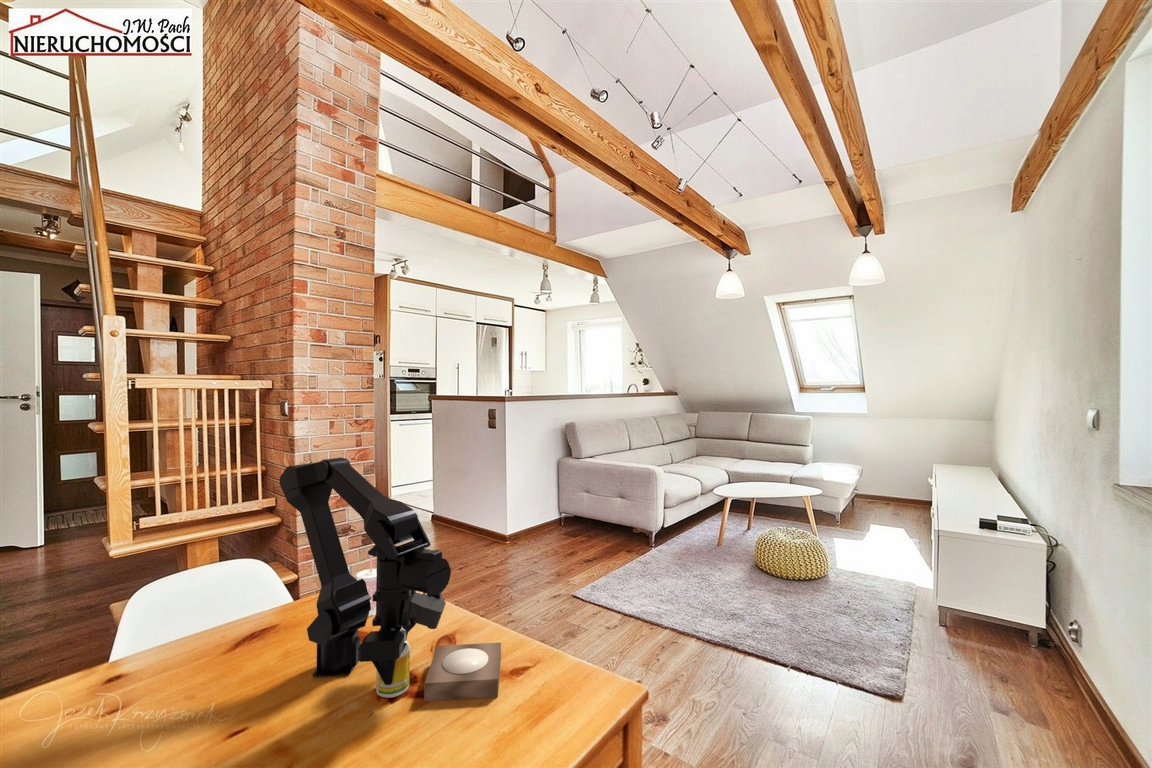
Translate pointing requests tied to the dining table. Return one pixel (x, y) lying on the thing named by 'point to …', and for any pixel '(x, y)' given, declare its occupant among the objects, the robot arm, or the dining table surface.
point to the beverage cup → (369, 584)
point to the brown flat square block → (463, 672)
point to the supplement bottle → (396, 675)
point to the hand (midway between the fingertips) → (393, 674)
